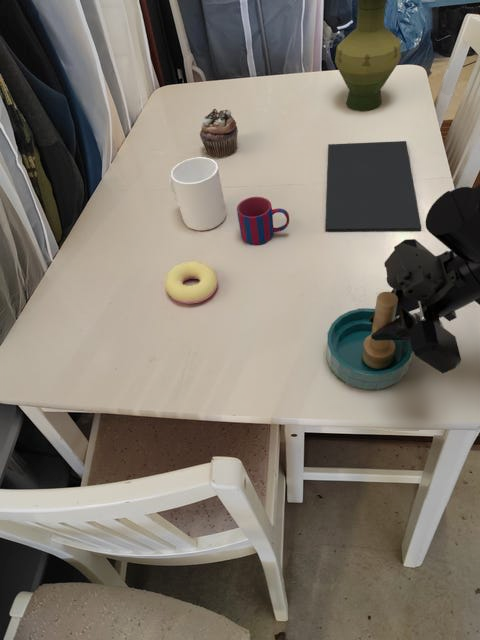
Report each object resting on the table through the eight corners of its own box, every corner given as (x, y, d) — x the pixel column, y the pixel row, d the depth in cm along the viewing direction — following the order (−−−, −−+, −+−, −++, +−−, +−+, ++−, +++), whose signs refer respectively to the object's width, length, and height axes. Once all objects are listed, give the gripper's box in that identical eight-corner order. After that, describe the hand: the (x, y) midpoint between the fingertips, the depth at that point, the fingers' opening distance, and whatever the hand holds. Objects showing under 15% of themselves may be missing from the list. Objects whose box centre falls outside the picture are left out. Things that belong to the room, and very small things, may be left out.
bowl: (404, 327, 71) (409, 309, 68) (412, 394, 63) (418, 377, 60) (327, 325, 73) (328, 307, 70) (325, 388, 66) (326, 372, 62)
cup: (246, 222, 93) (243, 195, 88) (293, 227, 90) (292, 199, 85) (236, 243, 89) (232, 215, 84) (284, 249, 86) (283, 221, 81)
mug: (220, 233, 92) (210, 184, 83) (167, 230, 95) (152, 182, 86) (231, 206, 98) (223, 157, 89) (181, 203, 101) (168, 156, 92)
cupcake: (242, 139, 116) (237, 100, 108) (236, 159, 110) (231, 119, 102) (207, 140, 118) (199, 102, 110) (199, 160, 112) (191, 122, 104)
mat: (405, 144, 105) (406, 140, 104) (420, 231, 85) (421, 227, 84) (328, 147, 108) (328, 144, 108) (325, 231, 88) (325, 228, 88)
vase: (323, 99, 125) (325, -34, 102) (375, 84, 126) (389, -50, 103) (350, 123, 114) (359, -18, 91) (406, 107, 116) (429, -36, 93)
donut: (193, 273, 88) (158, 297, 83) (187, 253, 86) (151, 277, 81) (229, 286, 83) (195, 313, 78) (225, 265, 80) (189, 291, 75)
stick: (370, 340, 69) (379, 282, 59) (397, 352, 67) (411, 294, 57) (356, 360, 67) (363, 303, 57) (384, 373, 65) (396, 316, 55)
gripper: (423, 185, 54) (329, 255, 64) (453, 298, 42) (333, 361, 53) (475, 233, 59) (380, 291, 69) (515, 346, 47) (393, 396, 57)
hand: (372, 329), depth 62 cm, fingers closed on stick, 2 cm apart
